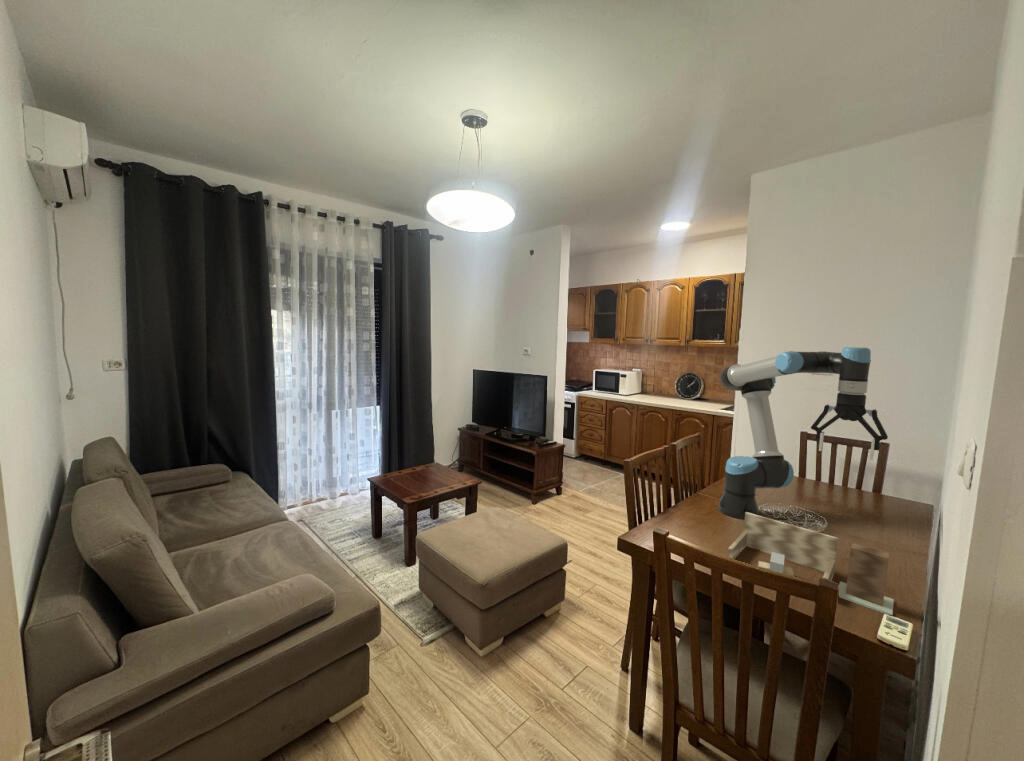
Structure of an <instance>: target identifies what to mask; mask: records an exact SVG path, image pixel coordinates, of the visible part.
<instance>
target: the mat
mask: <svg viewBox="0 0 1024 761" xmlns="http://www.w3.org/2000/svg"><path fill="white" fill-rule="evenodd" d="M838 587H839V597H838V598H841V599H843V600H846V601H848V602H851V603H854V604H857V605H859V606H862V607H865V608H868V609H870V610H873V611H877V612H878V613H881V614H884V613H885V615H887V614H890V615H892V616H893V613H894V603H895V602H894V598H891V597H888V596H885V595H884V601H883V606H880V605H877V604H874V603H871V602H868V601H866V600H863V599H860V598H857V597H854V596H851V595H849V594H846V587H847V582H844V581H839V583H838ZM890 615H889V616H890Z"/></svg>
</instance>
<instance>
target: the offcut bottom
mask: <svg viewBox="0 0 1024 761" xmlns="http://www.w3.org/2000/svg"><path fill="white" fill-rule="evenodd" d="M758 567H761V568H765V569H769V570H770V562H766V561H762V560H761V561H760V560H758V562H757V568H758ZM783 573H785V574H788V575H793V576H794V577H795V573H794V569H793V568H792V567H789V566H785V565H784V569H783Z"/></svg>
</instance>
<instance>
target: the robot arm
mask: <svg viewBox="0 0 1024 761" xmlns="http://www.w3.org/2000/svg"><path fill="white" fill-rule="evenodd" d="M871 361H872V360H871V349H870V348H868V347H855V346H854V347H853V346H852V347H851V346H850V347H847V346H846V347H843V348H841V352H834V351H794V350H793V351H792V350H789V351H782V352H780V353H779V354H778V355H777V356H774V357H773V356H771V357H769V358H764V359H762V360H758V361H753V362H749V363H745V364H739V363H737V364H735V363H734V364H731V365H728V366H725V367H724V368H723V369H722V370H721V372H720V374H719V380H720V383H721V385H722V386H723V387H725V389H728V390H730V391H737V392H740V393H741V398H744V399H745V401H746V406H747V411H748V417H749V424H750V429H751V433H752V439H753V441H752V442H753V445H754V446H753V447H754V454H753V455H752V456H747V455H746V456H743V455H736V456H732V457H729V458H728V459H727V460H726V463H725V464H726V465H725V468H724V469H725V474H724V476H725V477H724V487H723V489H724V490H723V493H722V495H721V497H720V500H719V501H718V508H717V509H718V510H719V512H721V513H722V514H724V515H726V516H729V517H731V518H736V519H740V520H745V513H746V512H748V513H752V514H755V515H759V516H760V510H759V507H758V503H757V500H756V499H757V498H756V491H757V490H756V489H780V488H782V489H783V488H786V487H788V486H789V485H790V484H791V483H792V482H793V479H794V468H793V466H792V464H791V463H790V462H789V461H788V460H786V459H785V457H784V456H785V455H784V454H783V453H782V452H780V451H779V448H778V441H777V436H776V430H775V427H774V426H775V425H774V421H773V415H772V410H771V404H770V400H769V396H770V395H771V394H772V390H773V389H774V387H775V386H776V385H775V384H776V380H777V379H776V378H778V377H783V376H787V375H794V374H807V373H808V374H835V375H839V376H838V385H837V391H838V393H837V395H836V404H835V406H833V405H830V404H825V405H824V407H823V411H822V412H821V413H820V414H819V416H818V418H817V419H816V420H815V421H814V422H813V424H812V425H811V426H810V429H811V430H813V431H815V432H816V438H815V441H817V442H819V444H818V451H819V452H822V451H823V449H824V438H825V431H824V430H826V428H828V427H829V426H831V425H832V424H834V423H835V422H836V421H838V420H839V419H841V420H842V421H850V422H859V423H860V424H861V425H862V426H863V428H865V430H866V431H867V432H868V434H869V435H870V436H871V437H873V438H872V439H871V443H870V453H869V460H871V461H873V460H874V456H875V454H874V453H875V451H878V450H879V449H880V442H881V441H883V440H885V441H886V440H888V438H889V435H888V434H887V432H886V430H885V428H884V426H883V424H882V423H881V421H880V419H879V417H878V410H877V409H866V402H867V395H866V394H867V393H868V384H869V372H870V367H871ZM832 410H833V411H834V412H835V413H836V415H834V416H833V417H832V418H831V419H829V420H828V421H826V422H825V423H823V424H822V425H821V426H819V427H818V425H820V423H821V422H822V421H823V419H824V418H825V417H826V416H827V414H828V413H830V412H832ZM866 414H868V415H869V417H871V418H872V421H873V423H874V424H875V426H876V428H877V430H878V432H879V434H880V435H879V434H878V433H877V432H876V431H875V430H874V428H873V427H871V425H870V424H869V423H868V421H866V419H865V418H864V417H863V416H864V415H866Z"/></svg>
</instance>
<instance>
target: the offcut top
mask: <svg viewBox="0 0 1024 761" xmlns="http://www.w3.org/2000/svg"><path fill="white" fill-rule="evenodd" d="M784 558H785V555H782V554H779V553H775V552H772V553H771V554H770V560H769V563H770V570H772V571H775V572H779V573H783V569H784V566H785V559H784Z"/></svg>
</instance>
